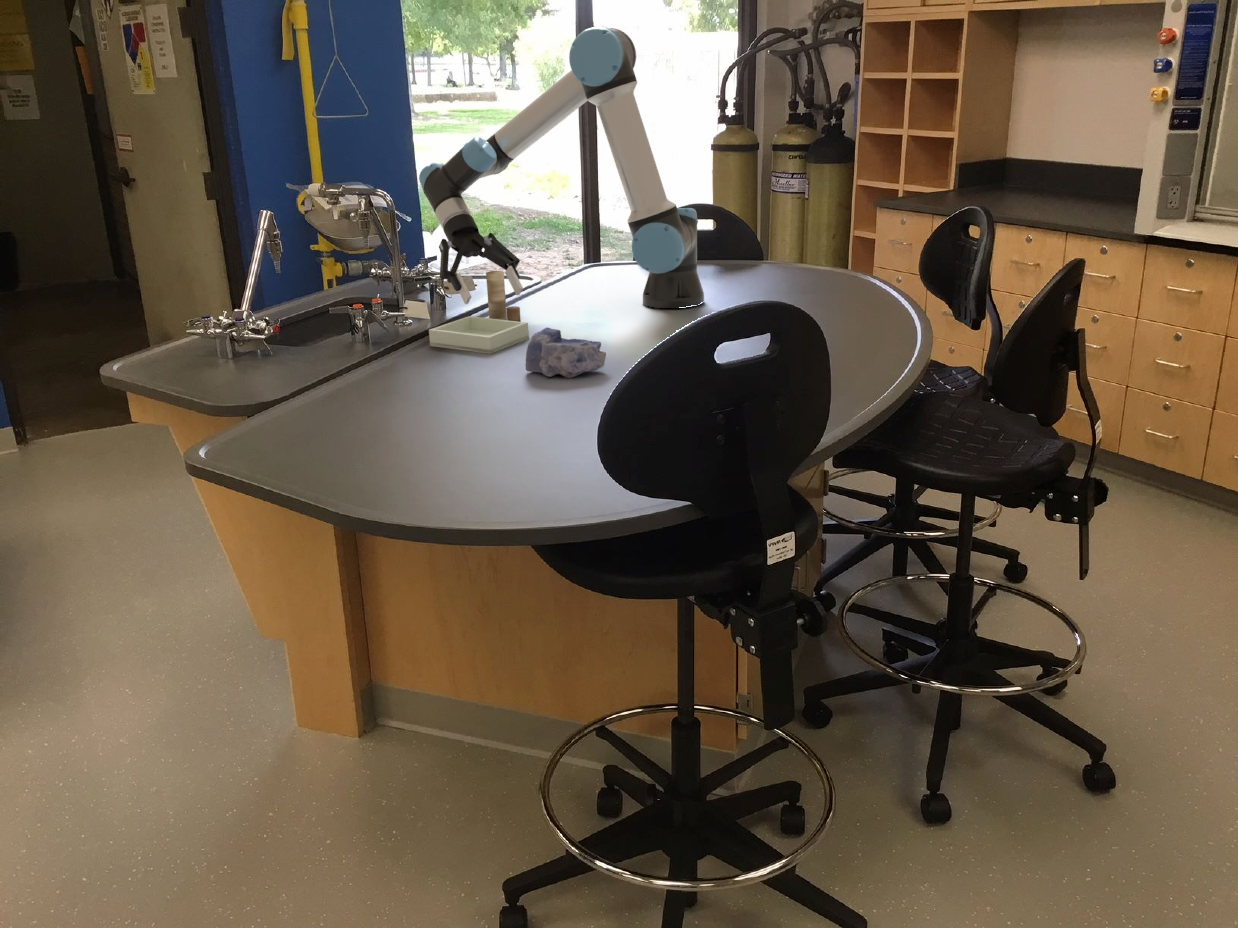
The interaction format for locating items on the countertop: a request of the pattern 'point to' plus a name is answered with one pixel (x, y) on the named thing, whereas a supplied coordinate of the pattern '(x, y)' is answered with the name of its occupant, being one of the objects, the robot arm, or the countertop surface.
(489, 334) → the tray
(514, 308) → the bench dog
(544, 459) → the countertop surface
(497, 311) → the dowel
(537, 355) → the mineral
